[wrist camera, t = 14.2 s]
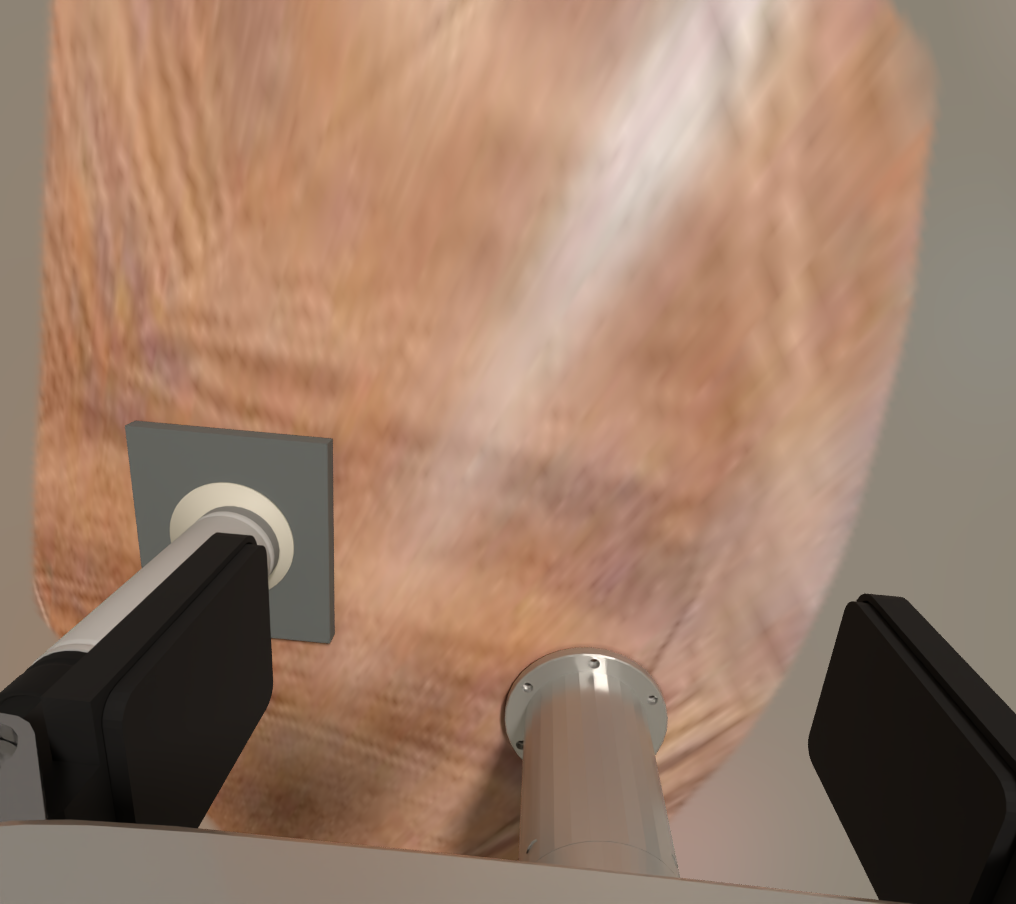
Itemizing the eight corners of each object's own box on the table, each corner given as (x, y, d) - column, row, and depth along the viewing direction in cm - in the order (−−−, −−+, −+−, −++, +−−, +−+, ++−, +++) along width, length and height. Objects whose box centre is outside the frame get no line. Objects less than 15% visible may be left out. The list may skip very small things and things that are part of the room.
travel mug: (301, 558, 48) (142, 779, 29) (229, 595, 49) (33, 828, 31) (250, 487, 46) (47, 672, 28) (177, 527, 48) (-64, 729, 29)
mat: (334, 634, 52) (329, 645, 50) (157, 616, 52) (146, 626, 51) (332, 438, 46) (326, 445, 45) (135, 420, 47) (123, 426, 45)
